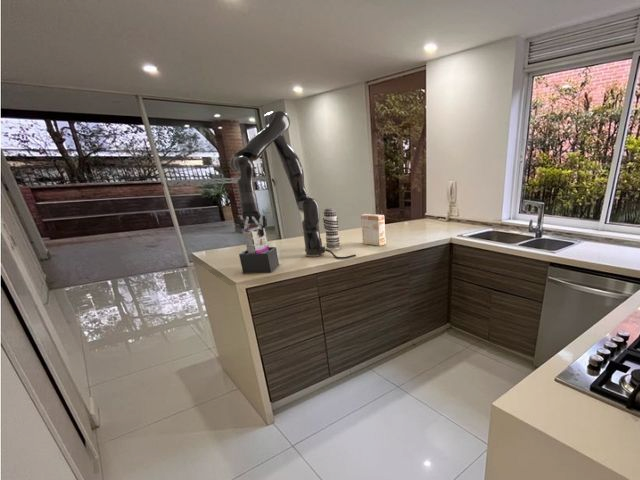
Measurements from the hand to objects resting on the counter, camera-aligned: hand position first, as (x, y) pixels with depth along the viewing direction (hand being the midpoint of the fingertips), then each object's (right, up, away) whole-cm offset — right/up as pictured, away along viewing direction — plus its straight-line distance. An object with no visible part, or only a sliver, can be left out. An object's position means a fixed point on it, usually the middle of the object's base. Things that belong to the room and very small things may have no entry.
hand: (255, 236), depth 170 cm
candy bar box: (0, -12, +5) cm, 13 cm away
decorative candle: (+27, +4, +50) cm, 56 cm away
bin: (0, -15, +7) cm, 17 cm away
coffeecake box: (+51, +9, +62) cm, 81 cm away
